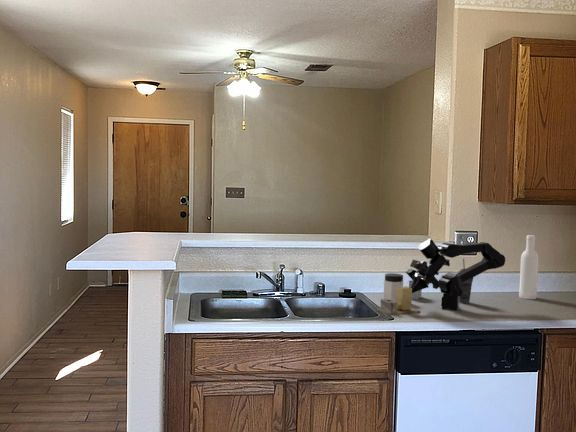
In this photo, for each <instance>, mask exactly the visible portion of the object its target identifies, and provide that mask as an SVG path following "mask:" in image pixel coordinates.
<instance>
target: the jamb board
mask: <svg viewBox="0 0 576 432" xmlns="http://www.w3.org/2000/svg"><path fill="white" fill-rule="evenodd" d="M397 304H398V303H397V302H391V300H390V299H384V298H381V299H380V306H379V307H380V309H379V311H380V312H383V313H385V314H387V315H389V316H390V315H406V314H420V313H421V310H419V309H417V308H415V307H412V306H411V310H400V309H398V310H397Z"/></svg>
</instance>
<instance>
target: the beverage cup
mask: <svg viewBox="0 0 576 432" xmlns="http://www.w3.org/2000/svg"><path fill="white" fill-rule="evenodd" d="M462 264H463V265H462V266H463V268H462V269H460V270H459V271H458V272H457V273H459V272H461V271H463V270H465V269H466V268H465V267H466V266H465V264H466V263H465V258H462ZM473 281H474V277H473V278H471V279H469V280H467V281H465V282H463V283H462V285H461V286H460V289H461V290H462V291H463V293H462V295H461V296H459V303H460V304H470V299H471V292H472V285H473Z"/></svg>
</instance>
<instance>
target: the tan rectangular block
mask: <svg viewBox="0 0 576 432" xmlns="http://www.w3.org/2000/svg"><path fill="white" fill-rule="evenodd" d="M412 301H413V299H412V288H410V287H409V286H406V285H405V286H404V285H403V287H397V303H398V304H397V310H398V309H400V310H411V307H412Z"/></svg>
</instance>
